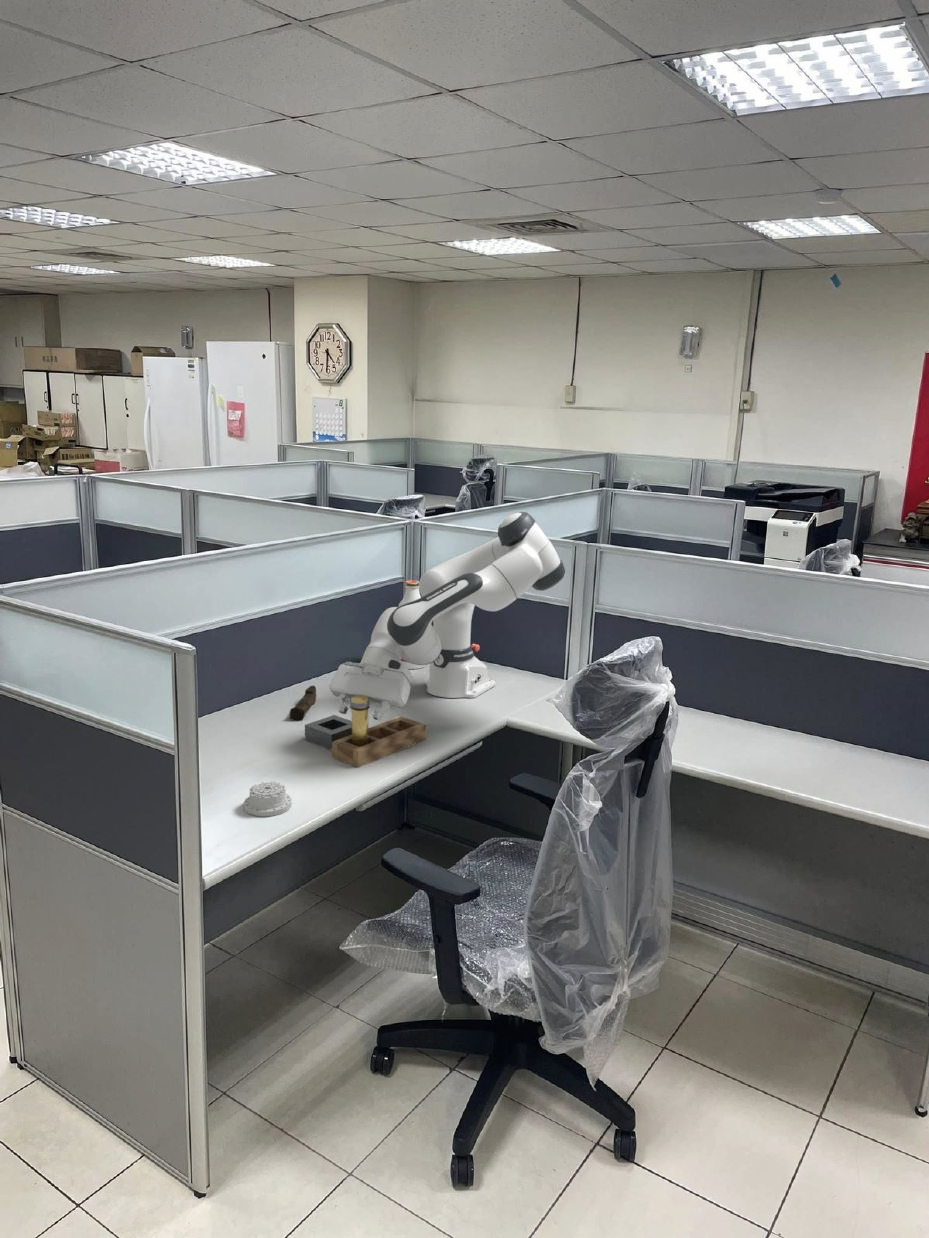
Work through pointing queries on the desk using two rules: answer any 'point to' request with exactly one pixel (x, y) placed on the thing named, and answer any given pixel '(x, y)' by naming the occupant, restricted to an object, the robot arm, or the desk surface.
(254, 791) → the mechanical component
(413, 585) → the fruit juice
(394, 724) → the wooden compartment tray
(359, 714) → the gold capped cylinder
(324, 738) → the socket block
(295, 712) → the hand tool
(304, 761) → the desk surface
